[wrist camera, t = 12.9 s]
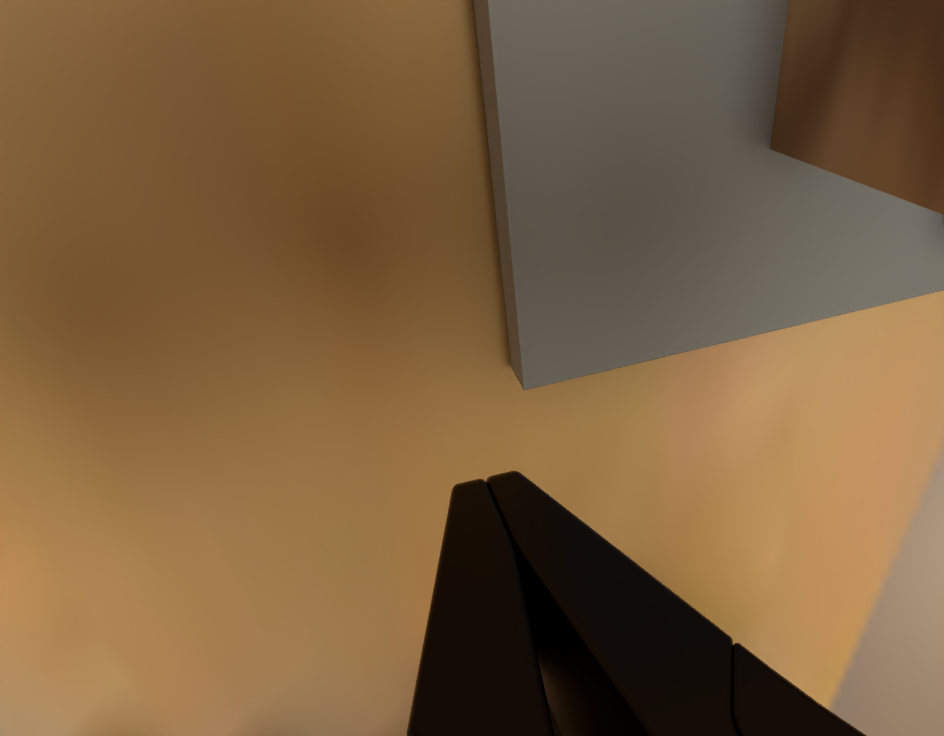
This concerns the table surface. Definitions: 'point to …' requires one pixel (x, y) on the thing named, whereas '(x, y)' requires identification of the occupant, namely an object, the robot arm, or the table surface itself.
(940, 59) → the tan rectangular box
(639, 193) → the board
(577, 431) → the table surface
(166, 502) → the table surface
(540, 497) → the robot arm
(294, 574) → the table surface
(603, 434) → the table surface
